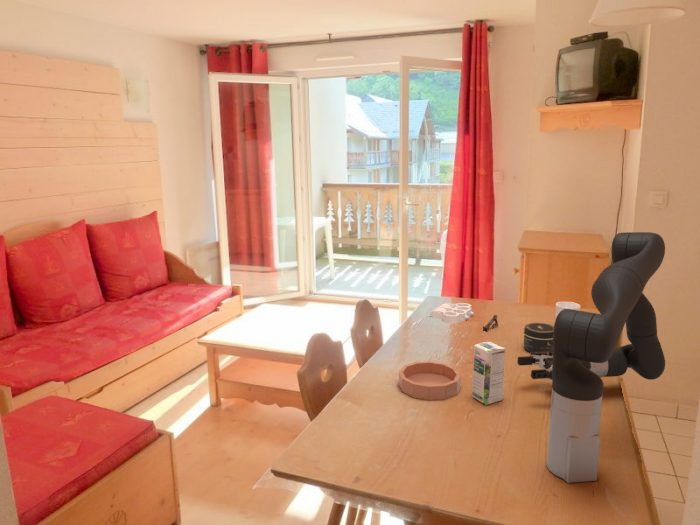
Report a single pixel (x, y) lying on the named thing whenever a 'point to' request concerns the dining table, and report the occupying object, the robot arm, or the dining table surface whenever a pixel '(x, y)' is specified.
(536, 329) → the jar
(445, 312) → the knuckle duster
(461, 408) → the dining table surface
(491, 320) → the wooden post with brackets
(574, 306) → the white cup
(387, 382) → the dining table surface
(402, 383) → the bowl
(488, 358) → the syrup box
